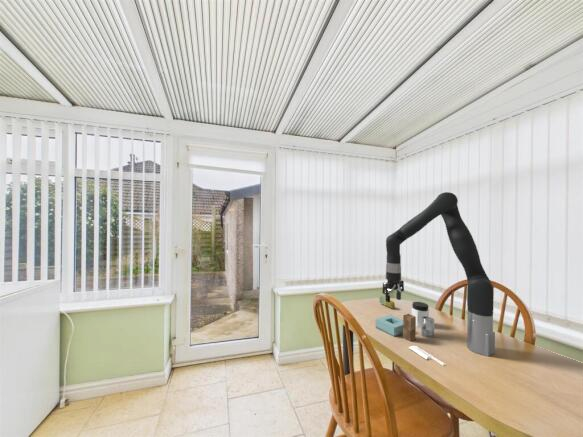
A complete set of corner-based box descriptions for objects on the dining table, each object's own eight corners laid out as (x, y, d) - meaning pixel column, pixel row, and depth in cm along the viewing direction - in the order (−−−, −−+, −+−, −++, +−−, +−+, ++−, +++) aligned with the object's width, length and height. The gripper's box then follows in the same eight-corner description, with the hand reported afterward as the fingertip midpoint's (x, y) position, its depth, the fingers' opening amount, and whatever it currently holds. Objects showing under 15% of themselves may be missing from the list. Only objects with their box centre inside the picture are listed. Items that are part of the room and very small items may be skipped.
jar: (425, 329, 130) (425, 308, 130) (409, 324, 136) (410, 304, 136) (430, 324, 136) (430, 304, 136) (415, 320, 142) (415, 300, 142)
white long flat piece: (436, 366, 96) (437, 363, 96) (408, 348, 110) (408, 345, 110) (446, 366, 97) (446, 363, 97) (416, 348, 111) (417, 345, 111)
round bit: (436, 337, 122) (436, 319, 122) (429, 339, 119) (429, 322, 119) (425, 332, 127) (425, 315, 127) (418, 334, 124) (419, 317, 124)
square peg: (415, 340, 118) (415, 316, 118) (410, 342, 117) (410, 318, 117) (408, 336, 122) (408, 313, 122) (403, 338, 120) (403, 315, 120)
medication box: (379, 303, 171) (379, 297, 171) (382, 302, 172) (382, 296, 172) (392, 308, 160) (391, 302, 160) (395, 307, 161) (394, 301, 161)
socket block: (409, 332, 127) (409, 322, 127) (394, 337, 121) (394, 327, 121) (390, 323, 138) (390, 314, 138) (375, 327, 132) (375, 318, 132)
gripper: (390, 273, 122) (390, 305, 122) (408, 271, 129) (408, 300, 129) (378, 270, 129) (378, 300, 129) (396, 268, 136) (396, 296, 136)
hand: (393, 300), depth 129 cm, fingers open, 8 cm apart
